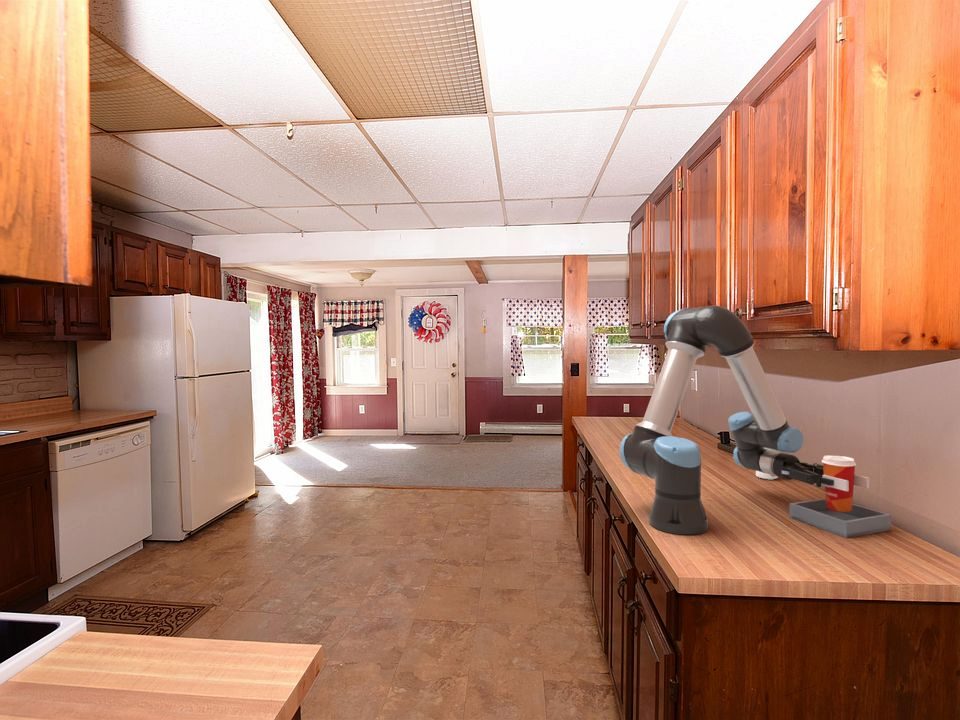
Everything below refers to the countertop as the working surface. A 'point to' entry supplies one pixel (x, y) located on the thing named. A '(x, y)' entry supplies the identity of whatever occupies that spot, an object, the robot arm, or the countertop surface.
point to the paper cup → (843, 470)
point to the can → (765, 475)
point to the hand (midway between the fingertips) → (857, 484)
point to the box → (840, 518)
